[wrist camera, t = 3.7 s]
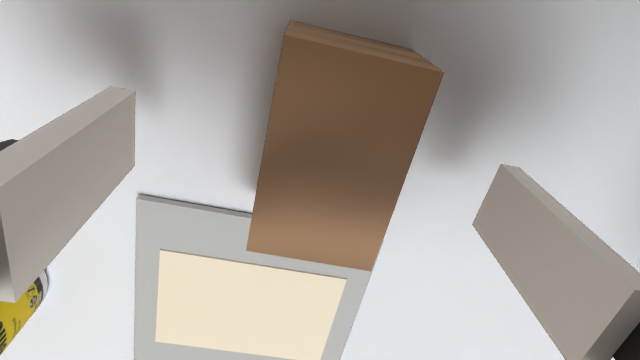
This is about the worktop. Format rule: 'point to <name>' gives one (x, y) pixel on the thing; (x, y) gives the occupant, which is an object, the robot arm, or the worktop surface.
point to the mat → (232, 291)
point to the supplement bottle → (20, 310)
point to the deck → (338, 145)
